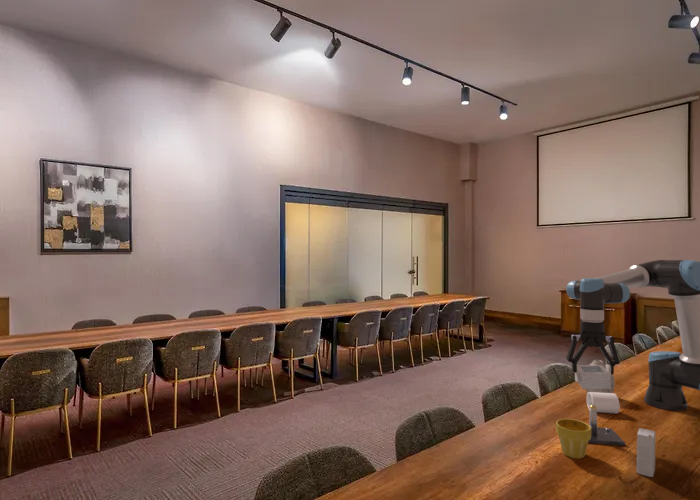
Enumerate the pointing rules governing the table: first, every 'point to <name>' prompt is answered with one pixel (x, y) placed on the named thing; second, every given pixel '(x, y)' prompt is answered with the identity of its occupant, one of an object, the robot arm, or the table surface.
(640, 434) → the skincare box
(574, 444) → the plant pot
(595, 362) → the vase
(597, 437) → the keeper
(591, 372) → the link
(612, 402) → the mug
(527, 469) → the table surface
